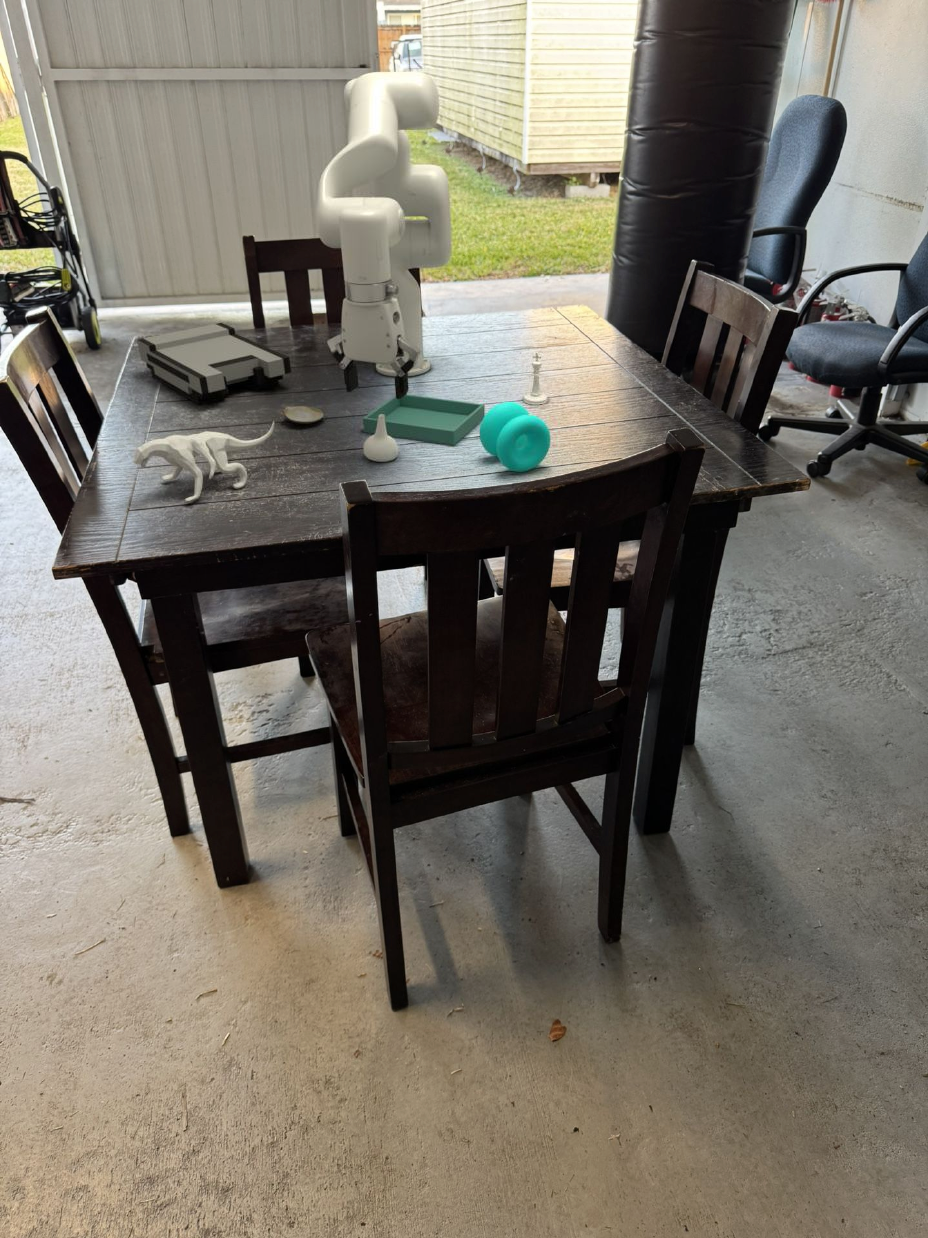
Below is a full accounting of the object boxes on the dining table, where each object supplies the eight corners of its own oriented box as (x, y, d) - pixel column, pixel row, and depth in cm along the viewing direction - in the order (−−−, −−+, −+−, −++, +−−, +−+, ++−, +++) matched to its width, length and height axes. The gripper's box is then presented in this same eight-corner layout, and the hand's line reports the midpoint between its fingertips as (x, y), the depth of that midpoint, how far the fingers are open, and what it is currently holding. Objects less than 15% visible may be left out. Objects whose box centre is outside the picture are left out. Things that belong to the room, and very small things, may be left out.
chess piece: (545, 405, 174) (547, 356, 168) (522, 403, 175) (523, 355, 169) (548, 397, 178) (550, 349, 172) (525, 395, 179) (526, 348, 173)
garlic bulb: (364, 451, 155) (360, 409, 151) (398, 449, 156) (395, 407, 151) (364, 465, 150) (360, 422, 146) (399, 463, 151) (396, 420, 146)
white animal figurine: (131, 490, 143) (116, 434, 138) (266, 454, 155) (257, 401, 150) (155, 516, 135) (141, 458, 129) (296, 475, 147) (288, 420, 142)
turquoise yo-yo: (500, 479, 144) (501, 423, 139) (476, 457, 152) (476, 404, 146) (552, 468, 148) (554, 413, 142) (526, 448, 155) (527, 395, 150)
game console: (205, 411, 174) (197, 372, 170) (145, 375, 195) (136, 339, 190) (293, 388, 185) (288, 351, 180) (227, 356, 206) (221, 322, 201)
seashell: (313, 438, 166) (330, 415, 171) (312, 425, 164) (329, 402, 169) (275, 427, 167) (293, 405, 172) (273, 414, 165) (291, 392, 170)
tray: (363, 431, 163) (362, 418, 162) (399, 406, 175) (398, 393, 173) (454, 445, 157) (453, 431, 155) (484, 417, 169) (484, 404, 167)
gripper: (426, 289, 137) (430, 391, 147) (334, 280, 142) (344, 380, 152) (406, 301, 131) (412, 406, 141) (310, 291, 137) (322, 394, 147)
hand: (376, 392), depth 147 cm, fingers open, 9 cm apart
